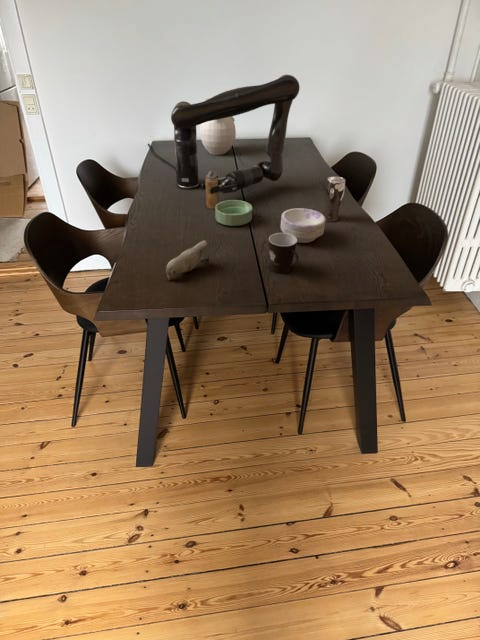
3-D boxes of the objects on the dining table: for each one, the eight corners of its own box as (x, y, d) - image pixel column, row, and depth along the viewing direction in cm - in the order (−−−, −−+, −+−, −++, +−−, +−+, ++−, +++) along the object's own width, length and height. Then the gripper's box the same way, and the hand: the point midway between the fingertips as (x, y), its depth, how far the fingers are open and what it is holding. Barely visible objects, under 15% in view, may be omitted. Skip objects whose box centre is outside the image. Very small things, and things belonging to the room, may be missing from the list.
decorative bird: (162, 277, 130) (159, 255, 126) (201, 258, 140) (199, 237, 135) (173, 284, 127) (171, 262, 123) (212, 264, 137) (211, 243, 132)
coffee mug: (265, 261, 138) (266, 233, 132) (291, 260, 139) (294, 232, 133) (270, 281, 129) (272, 251, 123) (298, 279, 130) (301, 250, 124)
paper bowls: (326, 231, 156) (329, 210, 151) (318, 250, 144) (321, 228, 139) (285, 224, 159) (287, 204, 154) (274, 243, 148) (276, 221, 143)
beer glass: (339, 222, 161) (346, 183, 152) (320, 221, 162) (326, 182, 153) (340, 215, 166) (346, 176, 157) (321, 213, 167) (327, 175, 158)
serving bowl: (208, 218, 163) (207, 205, 160) (236, 209, 170) (236, 197, 167) (230, 231, 155) (230, 218, 152) (259, 221, 162) (259, 208, 159)
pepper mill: (204, 205, 173) (202, 170, 164) (213, 202, 175) (212, 168, 166) (211, 209, 170) (209, 174, 161) (220, 206, 172) (220, 171, 163)
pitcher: (235, 157, 220) (235, 104, 205) (199, 157, 220) (196, 104, 205) (236, 147, 235) (236, 96, 219) (202, 146, 235) (200, 96, 220)
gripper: (229, 165, 177) (195, 174, 168) (251, 174, 168) (217, 184, 159) (229, 183, 181) (196, 192, 173) (251, 193, 172) (217, 204, 164)
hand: (206, 188), depth 166 cm, fingers closed on pepper mill, 5 cm apart
